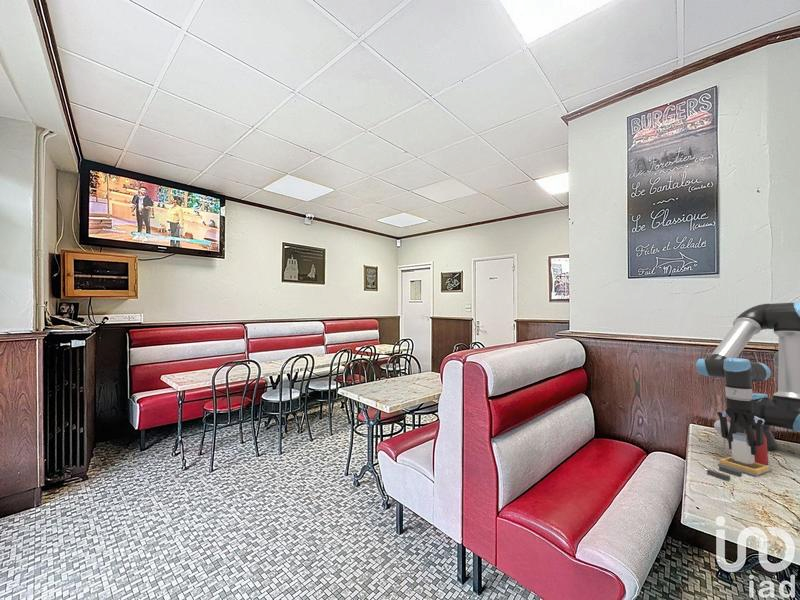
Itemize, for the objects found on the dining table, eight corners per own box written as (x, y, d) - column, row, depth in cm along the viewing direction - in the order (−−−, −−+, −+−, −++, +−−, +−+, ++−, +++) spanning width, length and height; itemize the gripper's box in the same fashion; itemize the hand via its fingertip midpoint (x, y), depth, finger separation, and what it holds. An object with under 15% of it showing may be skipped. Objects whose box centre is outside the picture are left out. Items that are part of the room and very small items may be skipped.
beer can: (773, 466, 132) (770, 434, 133) (753, 464, 134) (751, 433, 134) (759, 459, 139) (757, 429, 140) (740, 458, 140) (738, 428, 141)
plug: (739, 458, 133) (737, 432, 134) (753, 462, 130) (751, 435, 130) (734, 460, 132) (732, 433, 132) (748, 464, 128) (746, 436, 129)
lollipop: (731, 460, 138) (728, 422, 139) (713, 455, 143) (710, 419, 144) (738, 457, 141) (735, 420, 142) (719, 452, 146) (717, 417, 147)
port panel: (733, 460, 138) (733, 455, 138) (771, 471, 128) (771, 465, 128) (717, 465, 133) (717, 460, 133) (755, 477, 123) (755, 471, 123)
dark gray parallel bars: (721, 469, 130) (720, 465, 130) (742, 476, 124) (741, 471, 124) (707, 474, 126) (707, 469, 126) (728, 480, 120) (727, 476, 120)
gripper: (706, 395, 139) (710, 454, 137) (764, 404, 123) (769, 471, 121) (716, 393, 142) (720, 451, 140) (774, 402, 126) (779, 467, 124)
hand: (743, 460), depth 131 cm, fingers closed on plug, 4 cm apart
